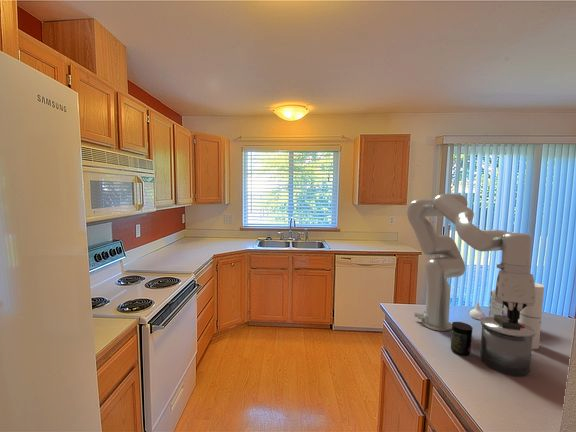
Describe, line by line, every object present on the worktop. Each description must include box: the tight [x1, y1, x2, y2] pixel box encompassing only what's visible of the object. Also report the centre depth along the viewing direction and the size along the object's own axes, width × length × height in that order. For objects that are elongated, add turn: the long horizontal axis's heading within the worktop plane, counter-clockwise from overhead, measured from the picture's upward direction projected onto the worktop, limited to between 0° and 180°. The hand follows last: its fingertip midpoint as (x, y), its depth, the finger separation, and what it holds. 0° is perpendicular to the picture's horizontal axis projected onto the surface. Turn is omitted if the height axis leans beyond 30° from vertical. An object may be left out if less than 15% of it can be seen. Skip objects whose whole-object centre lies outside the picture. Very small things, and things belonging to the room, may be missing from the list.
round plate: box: [480, 314, 535, 338], centre depth 97 cm, size 16×15×3 cm
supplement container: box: [450, 321, 473, 357], centre depth 105 cm, size 7×7×10 cm
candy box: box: [488, 289, 515, 317], centre depth 127 cm, size 14×6×16 cm, turn 110°
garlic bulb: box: [469, 301, 486, 321], centre depth 135 cm, size 6×6×8 cm
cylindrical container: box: [518, 281, 545, 350], centre depth 110 cm, size 7×7×25 cm
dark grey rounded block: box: [479, 325, 533, 378], centre depth 98 cm, size 14×14×12 cm
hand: (513, 320), depth 95 cm, fingers closed
